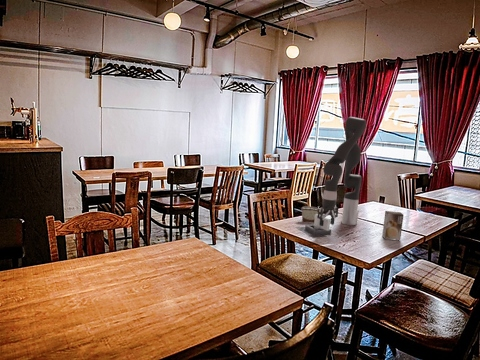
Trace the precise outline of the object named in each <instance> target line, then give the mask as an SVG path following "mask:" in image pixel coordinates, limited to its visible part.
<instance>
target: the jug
mask: <svg viewBox="0 0 480 360" xmlns="http://www.w3.org/2000/svg"><path fill="white" fill-rule="evenodd" d="M317 216H318V214H315V220H314V222H313V225H314V229H316V230H321V229H324V230H327V231H328V230H329V229H331V227H330V226H331V224H330V221H331V218H327V217H325V218H324V224H323V226H320V219H319V218H317ZM322 218H323V217H322Z"/></svg>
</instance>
